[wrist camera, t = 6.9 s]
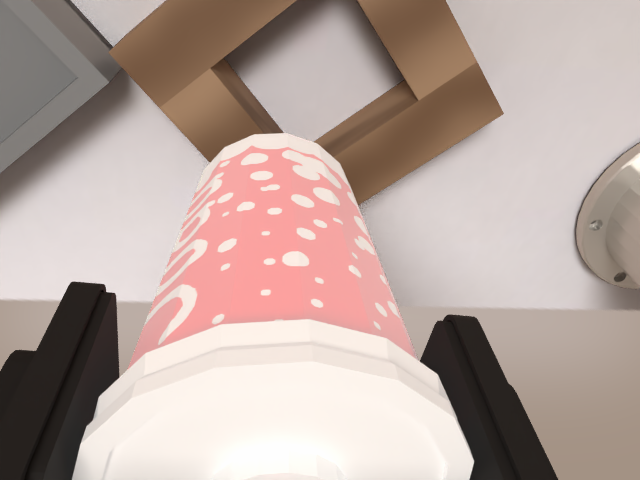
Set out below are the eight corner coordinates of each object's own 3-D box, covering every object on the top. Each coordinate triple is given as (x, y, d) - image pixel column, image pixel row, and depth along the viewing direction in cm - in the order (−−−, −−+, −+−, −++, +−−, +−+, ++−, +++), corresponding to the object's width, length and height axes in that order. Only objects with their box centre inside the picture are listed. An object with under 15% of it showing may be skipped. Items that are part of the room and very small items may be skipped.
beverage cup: (299, 57, 13) (491, 1301, 2) (414, 222, 16) (764, 1058, 5) (123, 186, 15) (-407, 1261, 3) (257, 314, 18) (231, 1102, 6)
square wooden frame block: (482, 92, 30) (503, 113, 27) (288, 217, 34) (289, 248, 31) (350, -158, 23) (361, -164, 21) (126, 34, 27) (108, 52, 24)
